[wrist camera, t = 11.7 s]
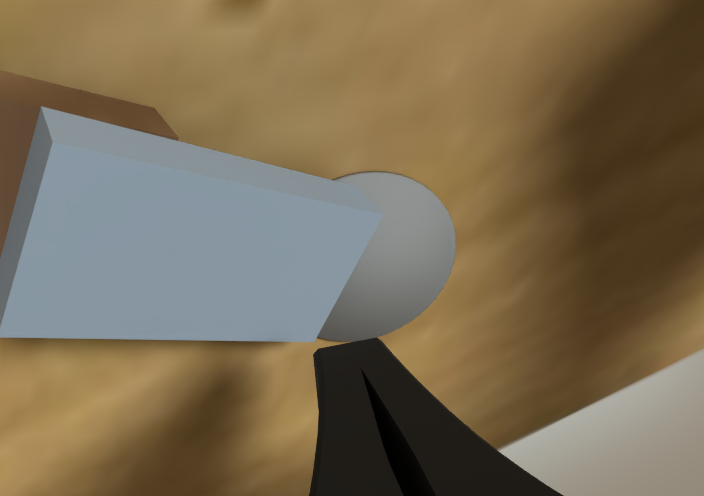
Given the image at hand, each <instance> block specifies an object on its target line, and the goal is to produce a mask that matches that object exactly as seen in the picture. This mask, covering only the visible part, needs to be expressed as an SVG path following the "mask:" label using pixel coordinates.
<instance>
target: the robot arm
mask: <svg viewBox="0 0 704 496" xmlns="http://www.w3.org/2000/svg"><path fill="white" fill-rule="evenodd" d="M313 357H314V367H315V377H316V388H317V398H318V408H319V420H318V436H317V445H316V453H315V461H314V469H313V476H312V482H311V488H310V494H309V496H563V495H562V494H560V493H558V492H557V491H555V490H553V489H552V488H550V487H549V486H547V485H545V484H544V483H542V482H541V481H540V480H538V479H537V478H535V477H534V476H532V475H531V474H529V473H528V472H526V471H525V470H523V469H522V468H521V467H519V466H518V465H516V464H515V463H514V462H512V461H511V460H510V459H508V458H507V457H505V456H504V455H502V454H501V453H500V452H499V451H497V450H496V449H495V448H493V447H492V446H491V445H490V444H488V443H487V442H486V441H485V440H483V439H482V438H481V437H480V436H478V435H477V434H476V433H475V432H474V431H472V430H471V429H470V428H469V427H468V426H466V425H465V424H464V423H463V422H462V421H461V420H459V419H458V418H457V417H456V416H455V415H454V414H453V413H452V412H450V411H449V410H448V409H447V408H446V407H445V406H444V405H443V404H442V403H441V402H440V401H439V400H438V399H436V398H435V397H434V396H433V395H432V394H431V393H430V392H429V391H428V390H427V389H426V388H425V387H424V386H423V385H422V384H421V383H420V382H419V381H418V380H417V379H416V378H415V377H414V376H413V375H412V374H411V373H410V372H409V371H408V370H407V369H406V368H405V367H404V366H403V365H402V363H401V362H400V361H399V360H398V359H397V358H396V357H395V356H394V355H393V354H392V352H391V351H390V350H389V349H388V348H387V347H386V346H385V344H384V343H383V342H382V341H381V340H379V339H378V338H377V337H376V338H371V339H366V340H361V341H356V342H351V343H346V344H341V345H335V346H330V347H325V348H320V349H318V350H317V351H316V352H315V353H314V354H313Z"/></svg>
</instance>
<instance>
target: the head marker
mask: <svg viewBox="0 0 704 496" xmlns="http://www.w3.org/2000/svg"><path fill="white" fill-rule="evenodd" d="M333 181H337V182H341V183H345V184H349V185H353V186H354V187H355V188H356V189H357V190H359V191H360V192H361V193H362V194H363V195H364V196H365V197H366V198H367V199H368V200H369V201H370V202H371V203H372V204H373V205H374V206H375V207H376V208H377V209H378V210H379V211H380V212H381V213H382V214H383V217H382V218H381V220H380V222H379V224H378V226H377V228H376V229H375V231H374V233H373V235H372V237H371V239H370V240H369V242H368V244H367V246H366V248H365V250H364V251H363V253H362V255H361V257H360V259H359V261H358V262H357V264H356V266H355V268H354V270H353V272H352V273H351V275H350V277H349V279H348V281H347V283H346V284H345V286H344V288H343V290H342V292H341V294H340V296H339V297H338V299H337V301H336V303H335V305H334V307H333V308H332V310H331V312H330V314H329V316H328V318H327V319H326V321H325V323H324V325H323V327H322V329H321V330H320V332H319V334H318V336H317V337H319V338H322V339H328V340H333V341H360V340H366V339H371V338H375V337H379V336H382V335H385V334H387V333H390V332H392V331H394V330H396V329H399V328H400V327H402V326H404V325H406V324H407V323H409V322H410V321H412V320H413V319H415V318H416V317H417V316H419V315H420V314H421V313H422V312H423V311H424V310H425V309H426V308H428V306H429V305H430V304H431V303H432V302H433V301H434V300H435V299H436V297H437V296H438V294H439V293H440V292H441V290H442V289H443V287H444V285H445V283H446V282H447V280H448V277H449V275H450V273H451V270H452V267H453V263H454V259H455V252H456V236H455V230H454V226H453V223H452V219H451V217H450V215H449V213H448V211H447V209H446V208H445V206H444V205H443V204H442V202H441V201H440V200H439V198H438V197H437V196H436V195H435V194H434V193H433V192H432V191H431V190H429V189H428V188H427V187H425V186H424V185H423V184H421V183H419V182H417V181H415V180H414V179H412V178H409V177H406V176H403V175H400V174H396V173H391V172H383V171H367V172H358V173H353V174H348V175H345V176H342V177H339V178H335V179H333Z"/></svg>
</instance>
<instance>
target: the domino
mask: <svg viewBox="0 0 704 496" xmlns="http://www.w3.org/2000/svg"><path fill="white" fill-rule="evenodd" d="M41 106H42V107H46V108H50V109H54V110H57V111H61V112H65V113H69V114H73V115H77V116H81V117H85V118H89V119H93V120H97V121H101V122H105V123H109V124H113V125H117V126H121V127H124V128H128V129H132V130H136V131H140V132H144V133H148V134H152V135H156V136H160V137H164V138H168V139H172V140H176V141H177V140H178V136H177V135H176V134H175V133H174V132H173V130H172V129H171V128H170V127H169V125H168V124H167V123H166V122H165V121H164V119H163V118H162V117H161V116H160V115H159V113H158V112H157V111H156V110H155V108H151V107H147V106H143V105H139V104H135V103H131V102H127V101H122V100H118V99H114V98H110V97H106V96H102V95H98V94H94V93H90V92H86V91H82V90H77V89H73V88H69V87H65V86H61V85H57V84H53V83H49V82H45V81H41V80H36V79H32V78H28V77H24V76H20V75H16V74H12V73H8V72H4V71H0V258H1V254H2V250H3V247H4V243H5V239H6V235H7V232H8V228H9V224H10V220H11V217H12V213H13V209H14V206H15V202H16V198H17V194H18V191H19V187H20V183H21V179H22V176H23V172H24V168H25V165H26V161H27V157H28V153H29V150H30V146H31V142H32V138H33V135H34V131H35V127H36V124H37V120H38V116H39V112H40V109H41Z"/></svg>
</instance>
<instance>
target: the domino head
mask: <svg viewBox="0 0 704 496" xmlns="http://www.w3.org/2000/svg"><path fill="white" fill-rule="evenodd" d="M382 217H383V214H382V213H381V212H380V211H379V210H378V209H377V208H376V207H375V206H374V205H373V204H372V203H371V202H370V201H369V200H368V199H367V198H366V197H365V196H364V195H363V194H362V193H361V192H360V191H359V190H357V189H356V188H355V187H354V186H353V185H349V184H345V183H341V182H337V181H333V180H329V179H325V178H321V177H317V176H313V175H310V174H306V173H302V172H298V171H294V170H290V169H286V168H282V167H278V166H274V165H270V164H266V163H262V162H258V161H254V160H250V159H247V158H243V157H239V156H235V155H231V154H227V153H223V152H219V151H215V150H211V149H207V148H203V147H199V146H195V145H191V144H187V143H184V142H180V141H176V140H172V139H168V138H164V137H160V136H156V135H152V134H148V133H144V132H140V131H136V130H132V129H128V128H124V127H121V126H117V125H113V124H109V123H105V122H101V121H97V120H93V119H89V118H85V117H81V116H77V115H73V114H69V113H65V112H61V111H57V110H54V109H50V108H46V107H42V106H41V109H40V112H39V116H38V120H37V124H36V127H35V131H34V135H33V138H32V142H31V146H30V150H29V153H28V157H27V161H26V165H25V168H24V172H23V176H22V179H21V183H20V187H19V191H18V194H17V198H16V202H15V206H14V209H13V213H12V217H11V220H10V224H9V228H8V232H7V235H6V239H5V243H4V247H3V250H2V254H1V258H0V337H8V338H75V339H141V340H208V341H275V342H314V341H315V340H316V338H317V336H318V334H319V332H320V330H321V329H322V327H323V325H324V323H325V321H326V319H327V318H328V316H329V314H330V312H331V310H332V308H333V307H334V305H335V303H336V301H337V299H338V297H339V296H340V294H341V292H342V290H343V288H344V286H345V284H346V283H347V281H348V279H349V277H350V275H351V273H352V272H353V270H354V268H355V266H356V264H357V262H358V261H359V259H360V257H361V255H362V253H363V251H364V250H365V248H366V246H367V244H368V242H369V240H370V239H371V237H372V235H373V233H374V231H375V229H376V228H377V226H378V224H379V222H380V220H381V218H382Z"/></svg>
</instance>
